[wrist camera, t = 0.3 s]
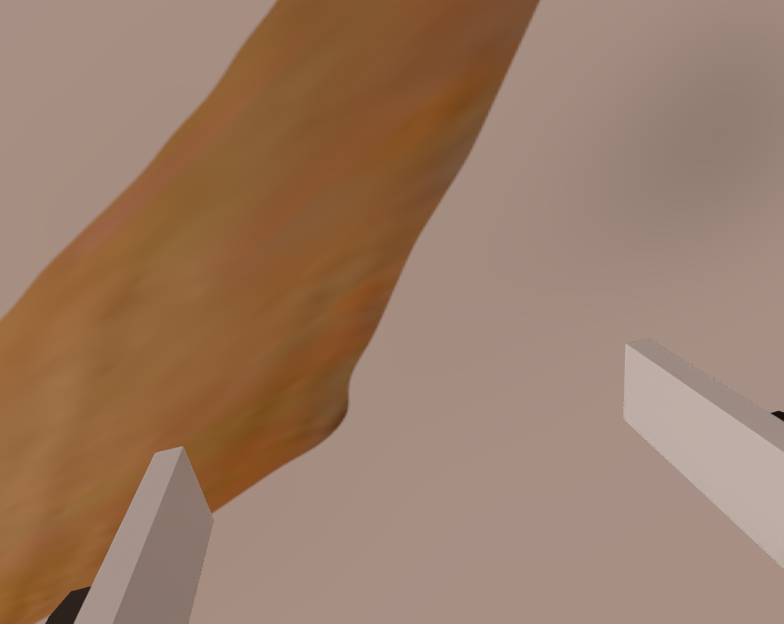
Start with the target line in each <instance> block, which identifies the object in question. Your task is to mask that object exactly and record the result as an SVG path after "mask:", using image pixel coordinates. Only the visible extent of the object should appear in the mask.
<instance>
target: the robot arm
mask: <svg viewBox="0 0 784 624" xmlns="http://www.w3.org/2000/svg"><path fill="white" fill-rule="evenodd" d="M624 420H625V421H626V422H627V423H629V424H630V425H631V426H632V427H633V428H634V429H635V430H636V431H637V432H638V433H639V434H640V435H641V436H642V437H643V438H645V439H646V440H647V441H648V442H649V443H650V444H651V445H652V446H653V447H654V448H655V449H656V450H657V451H659V452H660V453H661V454H662V455H663V456H664V457H665V458H666V459H667V460H668V461H669V462H670V463H671V464H672V465H674V466H675V467H676V468H677V469H678V470H679V471H680V472H681V473H682V474H683V475H684V476H685V477H686V478H687V479H688V480H690V481H691V482H692V483H693V484H694V485H695V486H696V487H697V488H698V489H699V490H700V491H701V492H702V493H703V494H705V495H706V496H707V497H708V498H709V499H710V500H711V501H712V502H713V503H714V504H715V505H716V506H717V507H718V508H720V509H721V510H722V511H723V512H724V513H725V514H726V515H727V516H728V517H729V518H730V519H731V520H732V521H733V522H734V523H736V524H737V525H738V526H739V527H740V528H741V529H742V530H743V531H744V532H745V533H746V534H747V535H748V536H750V538H752V539H753V540H754V541H755V542H756V543H757V544H758V545H759V546H760V547H761V548H762V549H763V550H764V551H766V552H767V553H768V554H769V555H770V556H771V557H772V558H773V559H774V560H775V561H776V562H777V563H778V564H780V565H781V566H782V567H783V568H784V412H781V411H776V412H772V413H769V412H768V411H766V410H764V409H763V408H761V407H760V406H758V405H756V404H755V403H753V402H751V401H750V400H748V399H747V398H745V397H744V396H742V395H740V394H739V393H737V392H735V391H734V390H732V389H731V388H729V387H728V386H726V385H724V384H723V383H721V382H719V381H718V380H716V379H715V378H713V377H711V376H710V375H708V374H707V373H705V372H703V371H702V370H700V369H699V368H697V367H695V366H694V365H692V364H691V363H689V362H687V361H686V360H684V359H683V358H681V357H679V356H678V355H676V354H675V353H673V352H671V351H670V350H668V349H667V348H665V347H663V346H662V345H660V344H659V343H657V342H655V341H654V340H652V339H651V338H646V339H642V340H638V341H633V342H629V343H626V347H625V385H624ZM213 521H214V520H213V517H212V514H211V512H210V510H209V507H208V505H207V502H206V500H205V498H204V495H203V493H202V490H201V488H200V485H199V483H198V481H197V478H196V476H195V473H194V471H193V469H192V466H191V464H190V461H189V459H188V457H187V454H186V452H185V449H184V447H183V446H182V447H178V448H173V449H169V450H165V451H161V452H156V453H155V454H154V456H153V458H152V460H151V462H150V465H149V467H148V469H147V471H146V473H145V475H144V477H143V479H142V481H141V483H140V486H139V488H138V490H137V492H136V494H135V496H134V498H133V500H132V502H131V504H130V507H129V509H128V511H127V513H126V515H125V517H124V519H123V521H122V523H121V525H120V528H119V530H118V532H117V534H116V536H115V538H114V540H113V542H112V544H111V546H110V548H109V551H108V553H107V555H106V557H105V559H104V561H103V563H102V565H101V567H100V569H99V572H98V574H97V576H96V578H95V580H94V582H93V584H92V586H91V587H87V588H83V589H79V590H75V591H71V592H70V593H69V594H68V596H67V597H66V598H65V599H64V600H63V601H62V603H61V604H60V605H59V606H58V607H57V608H56V609H55V611H54V612H53V613H52V614H51V615H50V616H49V618H48V620H47V622H46V624H188V623H189V619H190V615H191V611H192V607H193V603H194V599H195V595H196V591H197V587H198V583H199V579H200V575H201V571H202V566H203V562H204V558H205V554H206V550H207V546H208V542H209V537H210V534H211V530H212V526H213Z"/></svg>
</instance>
